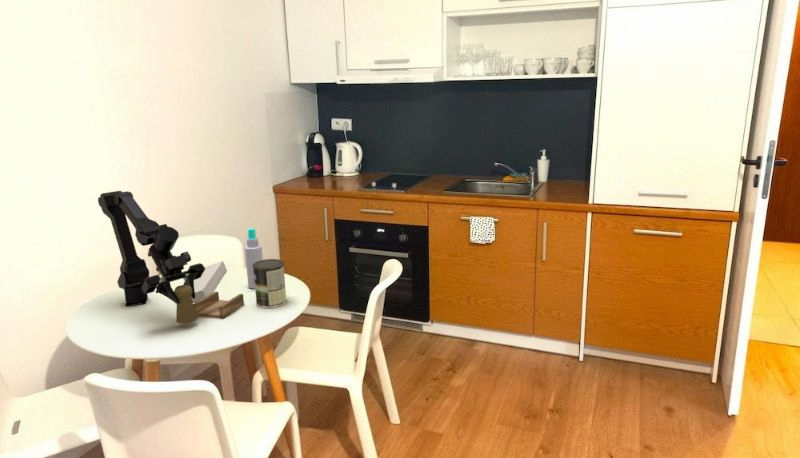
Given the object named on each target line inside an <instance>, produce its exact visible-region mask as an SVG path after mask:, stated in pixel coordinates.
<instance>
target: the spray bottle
mask: <svg viewBox="0 0 800 458" xmlns="http://www.w3.org/2000/svg"><path fill="white" fill-rule="evenodd" d="M247 234H248V235H247V236H248V237H247V238H246V246H244V254H245V266H246V275H247V285H248V288H250V289H251V288H252V289H253V290H255V283H254V272H253V266H252V265H253V264H254V263H255V262H257V261H261V260H264V257H263V249H262V248H263V247H262V245H261V244H259V238H258V237H257V236H256V229H255V228H253V227H252V228H248V229H247Z"/></svg>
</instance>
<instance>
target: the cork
mask: <svg viewBox="0 0 800 458" xmlns="http://www.w3.org/2000/svg"><path fill="white" fill-rule="evenodd" d="M173 291H174V293H175V294H176V296H177V298H178V300H179V304H176V310H175V311H176V312H175V313H176V315H175V316H176V318H175V319H176V321H175V322H176V323H178V324H190V323H193V322H195V321H197V319H198V316H196V313H195V309H194V305H193V304H194V302H192V298H191V294H192V288H191V287H190V286H189V285H183V284H180V285H177V286H176V287H175V288H174V289H173Z"/></svg>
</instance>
